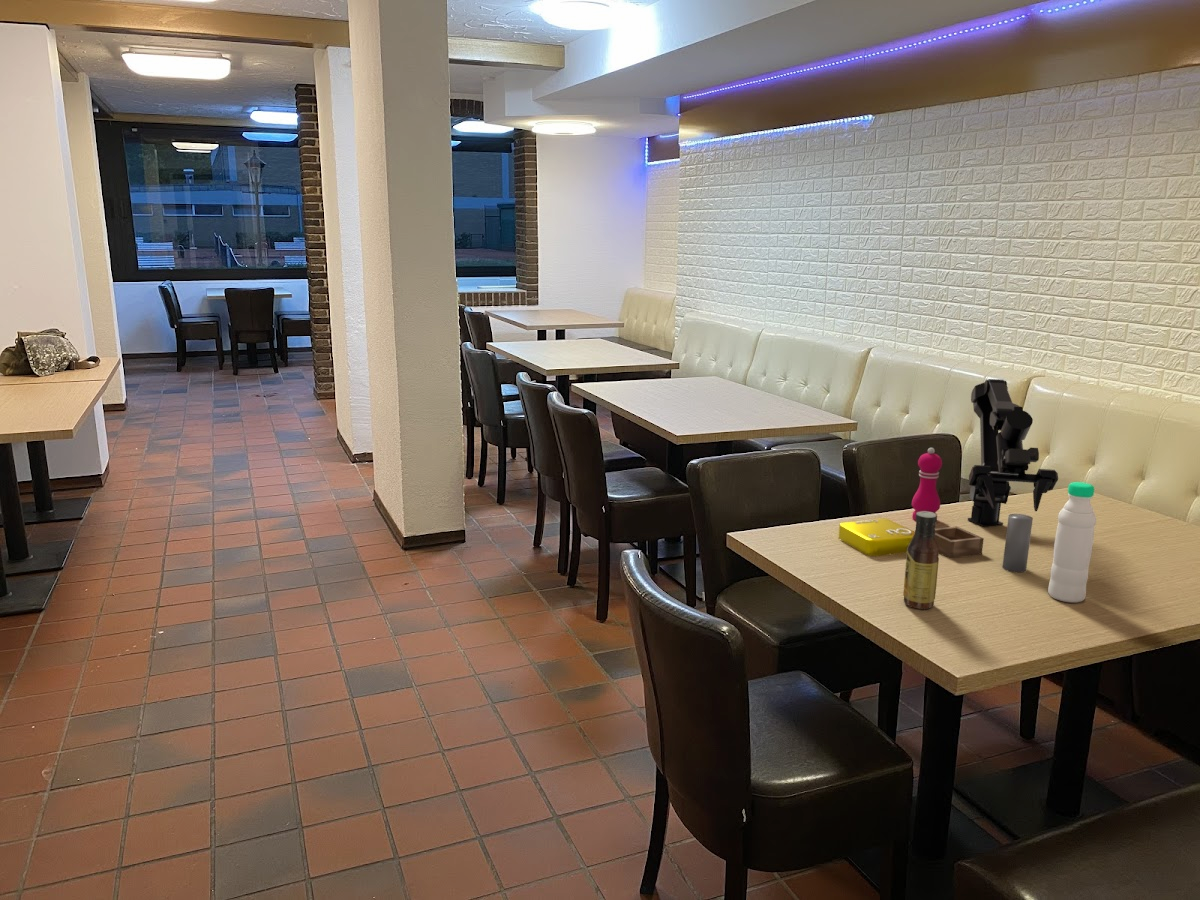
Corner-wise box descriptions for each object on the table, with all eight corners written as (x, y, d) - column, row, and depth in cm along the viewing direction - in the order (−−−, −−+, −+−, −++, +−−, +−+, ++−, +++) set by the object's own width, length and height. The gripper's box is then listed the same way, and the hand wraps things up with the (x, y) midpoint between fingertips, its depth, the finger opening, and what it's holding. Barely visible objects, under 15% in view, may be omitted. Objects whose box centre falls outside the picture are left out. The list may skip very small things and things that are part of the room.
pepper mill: (934, 516, 246) (941, 445, 241) (941, 524, 239) (949, 451, 234) (907, 515, 247) (914, 444, 242) (913, 523, 240) (920, 450, 235)
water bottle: (1083, 606, 186) (1100, 490, 181) (1045, 599, 190) (1061, 485, 184) (1086, 595, 192) (1102, 482, 186) (1049, 588, 196) (1064, 477, 190)
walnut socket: (954, 541, 226) (956, 526, 225) (981, 554, 217) (983, 538, 216) (923, 545, 223) (924, 529, 222) (949, 558, 214) (951, 542, 213)
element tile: (885, 533, 233) (886, 515, 232) (922, 552, 219) (924, 533, 218) (835, 538, 228) (836, 520, 227) (869, 558, 214) (871, 539, 213)
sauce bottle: (909, 596, 191) (917, 506, 186) (938, 604, 187) (948, 512, 182) (897, 605, 186) (905, 513, 181) (927, 613, 182) (937, 520, 177)
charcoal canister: (1014, 563, 211) (1021, 512, 208) (1031, 571, 206) (1037, 519, 203) (997, 566, 209) (1003, 514, 206) (1013, 573, 204) (1020, 521, 201)
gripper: (976, 432, 213) (979, 489, 205) (1061, 436, 209) (1068, 495, 201) (966, 456, 222) (970, 512, 214) (1048, 461, 218) (1054, 518, 210)
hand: (1015, 509), depth 210 cm, fingers open, 9 cm apart
